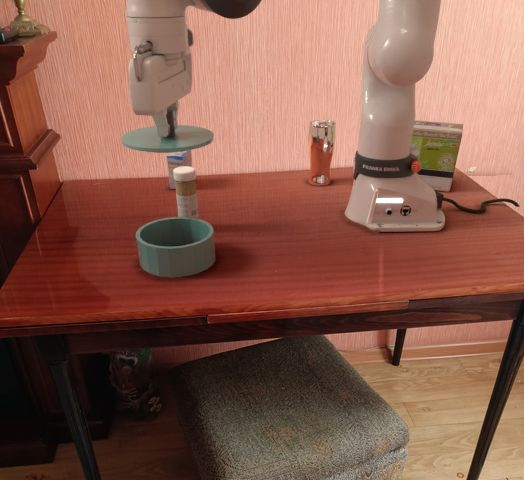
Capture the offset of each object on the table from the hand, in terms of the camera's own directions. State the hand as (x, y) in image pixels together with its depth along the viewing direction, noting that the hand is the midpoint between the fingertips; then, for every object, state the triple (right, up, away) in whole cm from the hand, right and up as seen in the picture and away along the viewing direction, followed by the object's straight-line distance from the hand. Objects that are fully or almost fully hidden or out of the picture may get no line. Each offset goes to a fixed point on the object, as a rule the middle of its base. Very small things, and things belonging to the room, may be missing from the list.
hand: (168, 132), depth 89 cm
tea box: (+58, +7, +51) cm, 78 cm away
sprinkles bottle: (0, -11, +26) cm, 29 cm away
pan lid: (0, -1, +1) cm, 1 cm away
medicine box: (-6, +7, +51) cm, 52 cm away
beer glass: (+31, +8, +52) cm, 61 cm away
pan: (-1, -19, +14) cm, 24 cm away
